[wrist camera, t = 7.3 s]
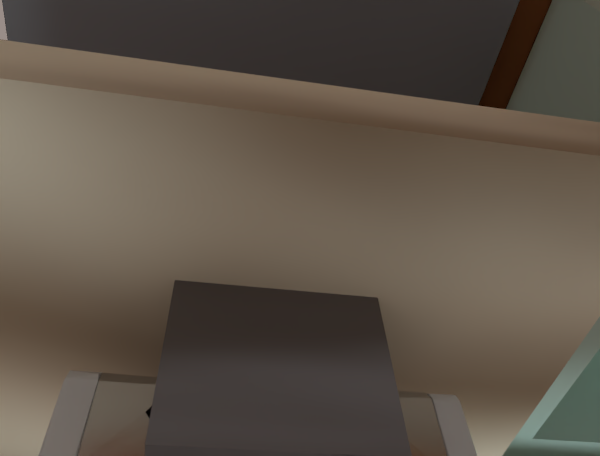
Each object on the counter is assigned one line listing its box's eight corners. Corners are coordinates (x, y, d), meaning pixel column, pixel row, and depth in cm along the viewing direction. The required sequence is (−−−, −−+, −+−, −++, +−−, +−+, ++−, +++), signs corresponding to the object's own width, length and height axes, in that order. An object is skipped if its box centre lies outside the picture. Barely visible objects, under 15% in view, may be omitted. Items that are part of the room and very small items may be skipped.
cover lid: (-119, 22, 8) (-393, 198, 5) (659, 130, 10) (867, 316, 6) (-6, 431, 14) (-89, 632, 11) (460, 454, 16) (512, 634, 12)
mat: (-14, -164, 12) (-22, -162, 11) (535, -60, 13) (541, -56, 13) (48, 292, 19) (45, 300, 19) (388, 320, 21) (390, 329, 21)
